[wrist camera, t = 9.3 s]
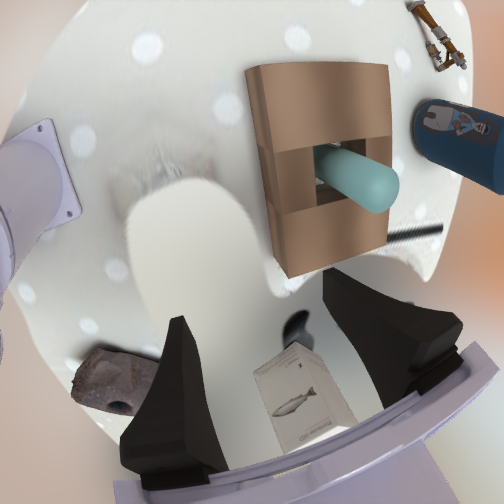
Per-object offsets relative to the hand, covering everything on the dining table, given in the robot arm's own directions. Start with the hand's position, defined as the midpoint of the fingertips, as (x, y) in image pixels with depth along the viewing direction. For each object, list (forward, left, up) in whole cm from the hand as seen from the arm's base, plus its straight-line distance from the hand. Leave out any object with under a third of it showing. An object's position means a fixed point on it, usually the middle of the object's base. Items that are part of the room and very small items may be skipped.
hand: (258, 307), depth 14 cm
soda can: (+23, +5, -11) cm, 26 cm away
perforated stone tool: (-13, -14, -11) cm, 22 cm away
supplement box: (+4, -23, -11) cm, 26 cm away
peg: (+9, +3, -10) cm, 14 cm away
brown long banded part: (+24, +16, -11) cm, 30 cm away
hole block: (+9, +3, -10) cm, 14 cm away
